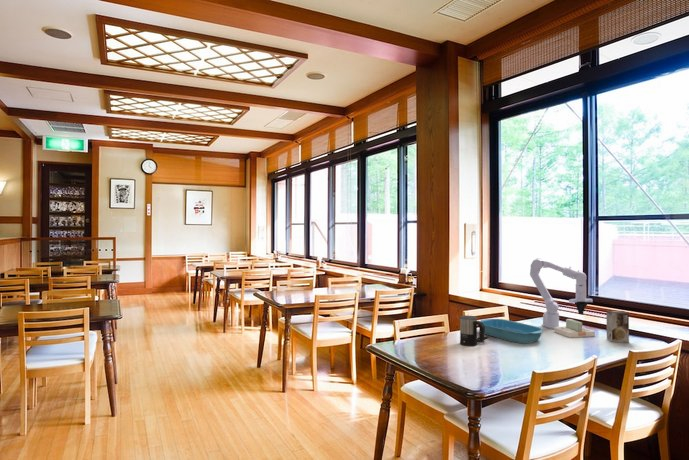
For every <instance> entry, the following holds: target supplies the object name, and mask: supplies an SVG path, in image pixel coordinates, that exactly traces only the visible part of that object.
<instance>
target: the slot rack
mask: <svg viewBox="0 0 689 460" xmlns="http://www.w3.org/2000/svg"><path fill="white" fill-rule="evenodd" d="M553 332H554V333H556V334H559V335H561V336H564V337H567V338H569V339H570V338H585V337H586V338H587V337H595V336H596V335H595V334H596V333H595V332H596V331H594V330H591V329H589V328H586V327H583V326H582V331H579V332H577V331H574V330H571V329H568V328H566V326H559V327H554V329H553Z"/></svg>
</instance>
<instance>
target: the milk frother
mask: <svg viewBox="0 0 689 460" xmlns="http://www.w3.org/2000/svg"><path fill="white" fill-rule="evenodd" d="M477 319H478V316H474V315H461V316H459V331H460V332H459V339H460V340H459V344H460V345H461V346H465V347H467V346H468V347H475V346H478V343H484V342H485V341H487V340H488V339H489V338H490V336H489V335H486V334H485V326H484V324H483V323H482V322H481V320H477ZM478 329H479V333H478ZM478 334H479V335H478ZM485 335H486V336H485Z"/></svg>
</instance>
